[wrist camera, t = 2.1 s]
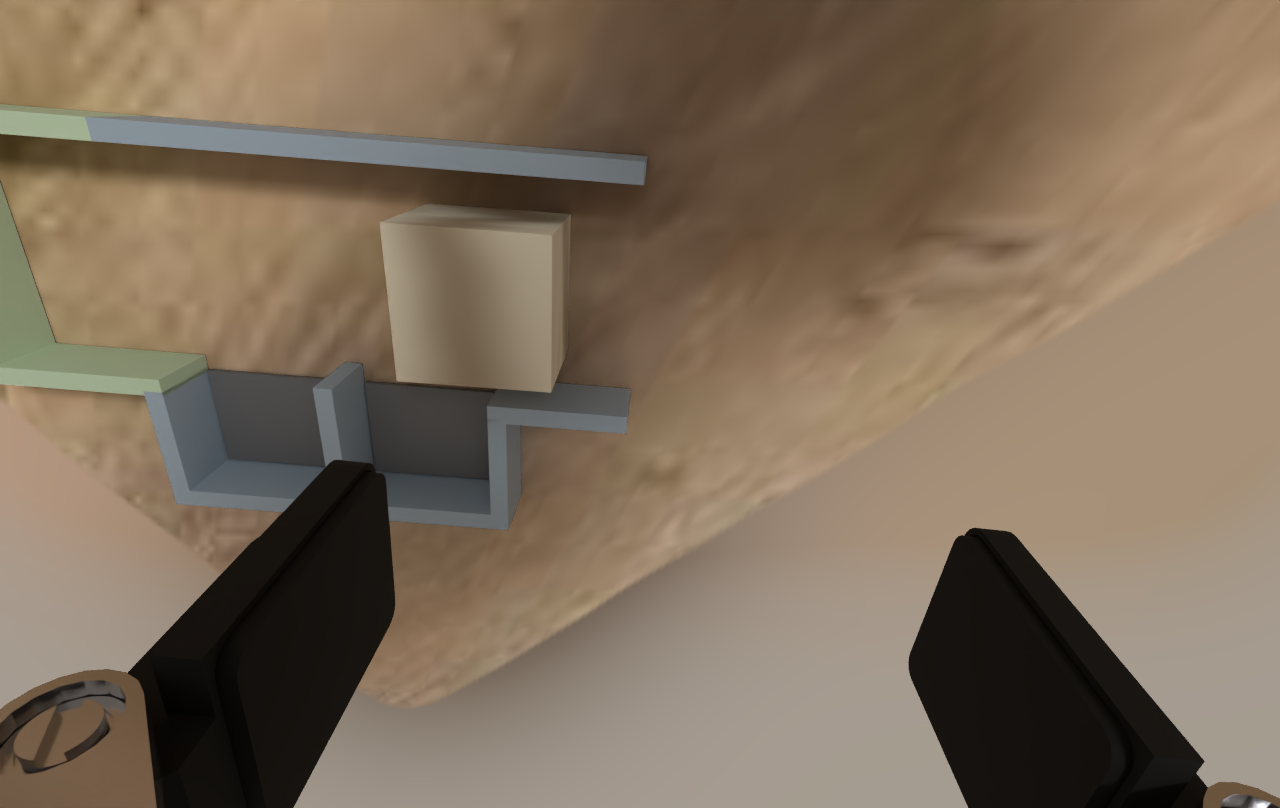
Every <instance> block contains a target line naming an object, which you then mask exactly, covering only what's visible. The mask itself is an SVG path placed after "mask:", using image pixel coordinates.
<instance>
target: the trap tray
mask: <svg viewBox="0 0 1280 808" xmlns="http://www.w3.org/2000/svg"><path fill="white" fill-rule="evenodd" d="M0 134H9V135H21V136H34V137H46V138H59V139H71V140H84V141H96V142H109V143H121V144H134V145H146V146H159V147H171V148H184V149H196V150H209V151H221V152H234V153H246V154H259V155H271V156H284V157H296V158H309V159H321V160H334V161H346V162H359V163H371V164H384V165H396V166H409V167H421V168H434V169H446V170H458V171H471V172H483V173H496V174H508V175H521V176H533V177H546V178H558V179H571V180H583V181H596V182H608V183H621V184H633V185H644V183H645V179H646V170H647V156H642V155H629V154H617V153H604V152H592V151H579V150H567V149H554V148H542V147H529V146H517V145H504V144H492V143H479V142H467V141H455V140H442V139H430V138H417V137H405V136H392V135H380V134H367V133H355V132H342V131H330V130H317V129H305V128H292V127H280V126H267V125H255V124H242V123H230V122H217V121H205V120H192V119H180V118H167V117H155V116H142V115H130V114H117V113H105V112H93V111H80V110H68V109H55V108H43V107H30V106H18V105H5V104H0ZM0 384H5V385H18V386H30V387H43V388H56V389H68V390H81V391H93V392H106V393H118V394H131V395H144V396H145V398H146V402H147V405H148V409H149V412H150V415H151V419H152V422H153V426H154V429H155V432H156V436H157V439H158V443H159V446H160V450H161V453H162V456H163V460H164V463H165V467H166V470H167V473H168V477H169V480H170V484H171V487H172V491H173V494H174V497H175V501H176V504H184V505H196V506H209V507H222V508H234V509H247V510H259V511H272V512H284V511H285V510H286V509H287V507H288V506H289V505H290V504H291V503H292V502H293V501H294V500H295V499H296V498H297V497H298V496H299V495H300V494H301V493H302V492H303V491H304V489H305V488H306V487H307V486H308V485H309V484H310V483H311V482H312V481H313V480H314V479H315V478H316V477H317V476H318V475H319V474H320V473H321V471H322V470H323V469H324V468H325V467H326V466H327V465H328V464H329V463H330V462H332V461H333V460H346V461H355V462H364V463H371V464H372V465H373V466H374V468H375V470H376V473H382V474H383V475H384V476H385V478H386V486H387V500H388V513H389V521H398V522H411V523H423V524H436V525H449V526H461V527H474V528H486V529H499V530H509V527H510V524H511V521H512V519H513V516H514V513H515V510H516V508H517V505H518V502H519V499H520V497H521V426H533V427H546V428H558V429H571V430H584V431H596V432H609V433H621V434H626V432H627V423H628V414H629V405H630V391H631V389H627V388H614V387H601V386H589V385H576V384H564V383H555V384H554V387H553V389H552V392H551V393H549V392H535V391H522V390H508V389H497V390H496V391H495V392H494V391H482V390H469V389H456V388H444V387H431V386H419V385H406V384H394V383H381V382H368V381H366V382H364V374H363V367H362V363H349V362H345V363H343V364H342V365H341V366H340V367H338V368H337V369H336V370H335V371H333V372H332V373H331V374H330V375H328V376H327V377H326V378H318V377H306V376H293V375H281V374H268V373H255V372H243V371H230V370H218V369H208V365H207V361H206V357H205V355H200V354H187V353H175V352H162V351H149V350H137V349H124V348H112V347H99V346H87V345H74V344H62V343H56V342H55V339H54V336H53V333H52V330H51V327H50V325H49V322H48V319H47V316H46V313H45V310H44V307H43V304H42V301H41V299H40V296H39V293H38V290H37V287H36V284H35V281H34V278H33V275H32V273H31V270H30V267H29V264H28V261H27V258H26V255H25V252H24V249H23V247H22V244H21V241H20V238H19V235H18V232H17V229H16V226H15V223H14V221H13V218H12V215H11V212H10V209H9V206H8V203H7V200H6V197H5V195H4V192H3V189H2V186H1V183H0ZM369 421H370V422H369ZM370 429H371V430H370ZM371 437H372V438H371ZM372 445H373V446H372ZM373 453H374V454H373ZM374 461H375V462H374Z"/></svg>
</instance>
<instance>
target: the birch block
mask: <svg viewBox="0 0 1280 808" xmlns="http://www.w3.org/2000/svg"><path fill="white" fill-rule="evenodd" d="M570 230H571V214H566V213H552V212H539V211H525V210H512V209H498V208H485V207H471V206H458V205H444V204H431V203H427V204H424V205H422V206H419V207H417V208H414V209H412V210H409V211H407V212H404V213H402V214H399V215H397V216H394V217H392V218H389V219H387V220H384V221H382V222H380V231H381V240H382V249H383V259H384V268H385V277H386V286H387V296H388V305H389V314H390V323H391V333H392V342H393V351H394V360H395V370H396V379H397V381H401V382H414V383H427V384H441V385H454V386H468V387H481V388H495V389H508V390H522V391H535V392H549V393H551V392H552V389H553V387H554V384H555V382H556V379H557V377H558V374H559V371H560V369H561V366H562V364H563V361H564V359H565V356H566V354H567V351H568V336H569V283H570Z"/></svg>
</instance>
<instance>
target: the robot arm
mask: <svg viewBox="0 0 1280 808" xmlns="http://www.w3.org/2000/svg"><path fill="white" fill-rule="evenodd" d="M394 610H395V591H394V578H393V565H392V552H391V539H390V526H389V513H388V500H387V486H386V478H385V476H384V475H383V474H382V473H376V470H375V468H374V466H373V465H372V464H371V463H364V462H355V461H346V460H333V461H332V462H330V463H329V464H328V465H327V466H326V467H325V468H324V469H323V470H322V471H321V473H320V474H319V475H318V476H317V477H316V478H315V479H314V480H313V481H312V482H311V483H310V484H309V485H308V486H307V487H306V488H305V489H304V491H303V492H302V493H301V494H300V495H299V496H298V497H297V498H296V499H295V500H294V501H293V502H292V503H291V504H290V505H289V506H288V507H287V509H286V510H285V511H284V512H283V513H282V514H281V515H280V516H279V517H278V518H277V519H276V520H275V521H274V522H273V523H272V524H271V525H270V527H269V528H268V529H267V530H266V531H265V532H264V533H263V534H262V535H261V536H260V537H259V538H257V539H256V540H255V541H253V542H252V543H251V544H250V545H249V546H248V547H247V548H246V549H245V550H244V551H243V552H242V553H241V554H240V555H239V556H238V557H237V558H236V559H235V560H234V561H233V562H232V564H231V565H230V566H229V567H228V568H227V569H226V570H225V571H224V572H223V573H222V574H221V575H220V576H219V577H218V578H217V579H216V581H214V582H213V584H212V585H211V586H210V587H209V588H208V589H207V590H206V591H205V592H204V593H203V594H202V595H201V596H200V597H199V598H198V599H197V600H196V601H195V602H194V604H193V605H192V606H191V607H190V608H189V609H188V610H187V611H186V612H185V613H184V614H183V615H182V616H181V617H180V618H179V619H178V621H176V622H175V624H174V625H173V626H172V627H171V628H170V629H169V630H168V631H167V632H166V633H165V634H164V635H163V636H162V637H161V638H160V639H159V641H157V642H156V643H155V644H154V646H153V647H152V648H151V649H150V650H149V651H148V652H147V653H146V654H145V655H144V656H143V657H142V658H141V659H140V660H139V661H138V663H136V665H135V666H134V667H133V668H132V669H131V670H130V671H129V672H128V673H126V672H121V671H115V670H109V669H104V670H90V671H83V672H79V673H75V674H71V675H67V676H63V677H60V678H57V679H55V680H52V681H50V682H47V683H45V684H42V685H40V686H38V687H35V688H33V689H31V690H29V691H28V692H26V693H24V694H23V695H21V696H20V697H18V698H16V699H14V700H13V701H11V702H9V703H8V704H6V705H5V706H4V707H3V708H2V709H0V808H293V807H294V805H295V804H296V802H297V800H298V798H299V796H300V794H301V792H302V790H303V788H304V787H305V785H306V783H307V780H308V779H309V777H310V775H311V773H312V771H313V770H314V768H315V766H316V764H317V762H318V760H319V758H320V756H321V754H322V752H323V751H324V749H325V747H326V745H327V743H328V741H329V739H330V737H331V735H332V734H333V732H334V730H335V728H336V726H337V724H338V722H339V720H340V718H341V717H342V715H343V713H344V711H345V709H346V707H347V705H348V703H349V701H350V699H351V697H352V696H353V694H354V692H355V690H356V688H357V686H358V684H359V682H360V681H361V679H362V677H363V675H364V673H365V671H366V669H367V667H368V665H369V663H370V662H371V660H372V658H373V656H374V654H375V652H376V650H377V648H378V646H379V645H380V643H381V641H382V639H383V637H384V635H385V633H386V631H387V629H388V628H389V626H390V623H391V621H392V618H393V614H394ZM909 672H910V676H911V679H912V681H913V684H914V686H915V688H916V690H917V693H918V695H919V697H920V700H921V702H922V704H923V706H924V709H925V711H926V713H927V715H928V718H929V720H930V722H931V724H932V726H933V729H934V731H935V733H936V735H937V738H938V740H939V742H940V745H941V747H942V749H943V751H944V754H945V756H946V758H947V761H948V763H949V765H950V767H951V769H952V772H953V774H954V776H955V779H956V781H957V783H958V785H959V787H960V790H961V792H962V794H963V797H964V799H965V801H966V803H967V805H968V808H1280V799H1279V798H1277V797H1275V796H1273V795H1271V794H1268V793H1266V792H1264V791H1262V790H1260V789H1258V788H1254V787H1251V786H1247V785H1243V784H1240V783H1235V782H1218V783H1216V784H1214V785H1212V786H1210V787H1207V786H1206V785H1205V784H1204V782H1203V781H1202V780H1201V779H1200V778H1199V776H1198V775H1197V774H1196V772H1197V771H1198V769H1199V768H1200V767H1201V766H1202V764H1203V763H1204V760H1203V759H1202V758H1201V757H1200V755H1199V754H1198V753H1197V752H1196V751H1195V749H1194V748H1193V747H1192V746H1191V745H1190V744H1189V742H1188V741H1187V740H1186V739H1185V737H1184V736H1183V735H1182V734H1181V733H1180V731H1179V730H1178V729H1177V728H1176V727H1175V726H1174V724H1173V723H1172V722H1171V721H1170V720H1169V718H1168V717H1167V716H1166V715H1165V714H1164V713H1163V711H1162V710H1161V709H1160V708H1159V706H1158V705H1157V704H1156V703H1155V702H1154V700H1153V699H1152V698H1151V697H1150V696H1149V695H1148V693H1147V692H1146V691H1145V690H1144V689H1143V688H1142V686H1141V685H1140V684H1139V683H1138V681H1137V680H1136V679H1135V678H1134V677H1133V675H1132V674H1131V673H1130V672H1129V671H1128V669H1127V668H1126V667H1125V666H1124V665H1123V664H1122V662H1121V661H1120V660H1119V659H1118V658H1117V656H1116V655H1115V654H1114V653H1113V652H1112V650H1111V649H1110V648H1109V647H1108V646H1107V644H1106V643H1105V642H1104V641H1103V640H1102V639H1101V637H1100V636H1099V635H1098V634H1097V632H1096V631H1095V630H1094V629H1093V628H1092V626H1091V625H1090V624H1089V623H1088V622H1087V621H1086V619H1085V618H1084V617H1083V616H1082V615H1081V613H1080V612H1079V611H1078V610H1077V609H1076V607H1075V606H1074V605H1073V604H1072V603H1071V601H1070V600H1069V599H1068V598H1067V597H1066V595H1065V594H1064V593H1063V592H1062V591H1061V590H1060V588H1059V587H1058V586H1057V585H1056V584H1055V582H1054V581H1053V580H1052V579H1051V578H1050V576H1049V575H1048V574H1047V573H1046V572H1045V571H1044V570H1043V568H1042V567H1041V566H1040V564H1039V563H1038V562H1037V561H1036V560H1035V559H1034V557H1033V556H1032V555H1031V554H1030V553H1029V551H1028V550H1027V549H1026V548H1025V547H1024V545H1023V544H1022V543H1021V542H1020V541H1019V540H1018V538H1017V537H1016V536H1015V535H1014V534H1012V533H1011V532H1007V531H999V530H990V529H981V528H972V529H970V530H969V531H968V532H966V534H965V536H963V535H962V536H958V538H956V540H955V542H954V543H953V546H952V548H951V551H950V553H949V556H948V559H947V561H946V564H945V566H944V569H943V572H942V574H941V576H940V579H939V581H938V584H937V586H936V589H935V592H934V594H933V597H932V599H931V602H930V604H929V607H928V610H927V612H926V614H925V617H924V619H923V622H922V625H921V627H920V630H919V632H918V635H917V637H916V640H915V643H914V645H913V648H912V650H911V652H910V656H909Z"/></svg>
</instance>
